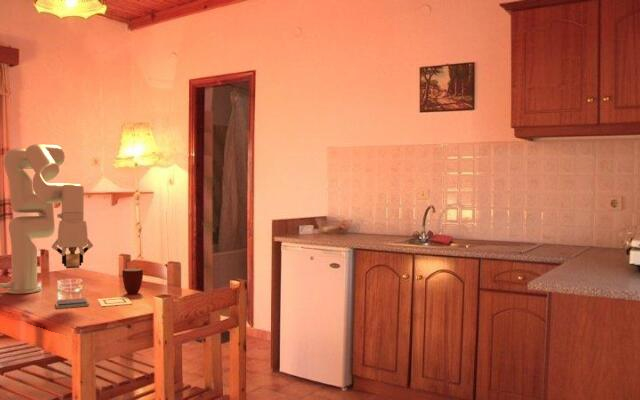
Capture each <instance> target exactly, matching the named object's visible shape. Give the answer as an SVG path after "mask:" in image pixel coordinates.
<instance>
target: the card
mask: <svg viewBox="0 0 640 400" xmlns="http://www.w3.org/2000/svg"><path fill="white" fill-rule="evenodd" d="M97 302H98V304H99V306H101V307H103V306H106V307H117V306H127V305H133V302H132V301H131V300H130V299H129V298H128V297H127V296H120V297H109V298H107V297H106V298H97ZM116 305H117V306H116ZM103 308H104V307H103Z"/></svg>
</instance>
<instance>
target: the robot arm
mask: <svg viewBox="0 0 640 400" xmlns="http://www.w3.org/2000/svg"><path fill="white" fill-rule="evenodd" d="M3 158H4V159H3V166H4V170H5V173H6V176H7V177H8V183H9V193H10V205H11V206H10V207H11V210H12V211H13V212H14V213H16V214H17V213H18V214H37V215H34V216H33V215H26V216H16V217H13V218H12V219H11V220H10V221H9V223H8V233H9V237H10V238H9V239H10V245H11V246H10V247H11V248H10V249H11V250H10V251H11V254H10V255H11V280H10V281H8V282H5V283H3V282H2V283H1V282H0V289H6V288H7V293H8V294H14V295H20V294H21V295H22V294H32V293H37V292H41V291H42V287H41V286H40V285H39V286H38V251H37V250H38V249H37V246H36V245H35V244H34V243H33V241H32V239H44V238H49V237H52V236H53V234H54V232H55V213H54V212H55V211H54V204H61V213H58V214H57V215H56V216H57V218H58V219H59V218H60V220H59V223H58V229H57V238H56V240H55V241H54V243H52V245H51V248H52V249H53V250H54V251H57V253H59V254H60V255H61V265H63V266H64V267H66V253H67V249H68V248H75V247H77V248H78V250H79V251H78V253H79V267H80V266H82V264H83V263H84V255H85V254H86V253H87V252H88V251H89V250H90V249H91V248H93V246H94V245H93V243H92V242H91V241H90V239H89V238H88V226H87V221H86V220H85V219H84V214H85V213H84V211H85V210H84V208H85V207H84V206H85V205H84V201H85V200H84V196H85V194H84V186H83V185H82V184H79V183H69V182H68V183H65V182H64V183H63V182H51V183H50V182H49V181H51V180H53V179H55V178H56V177H57V176H58V175H59V173H60V166H61V165H62V164H64V161H65V158H66V157H65V152H64V150H63V149H62V148H61V147H60V146H58V145H55V144H42V143H41V144H40V143H38V144H37V143H36V144H32V145H29V146H28V147H26V148H24V147H23V148H21V147H20V148H18V147H17V148H11V149H8V150H7V151H6V152H5V154H4V157H3ZM24 169H25V170H24ZM26 170H33V171H34V172H35V173H34V175H33V178H31V176H30V175H29V174H28V172H27V171H26Z"/></svg>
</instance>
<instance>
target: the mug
mask: <svg viewBox="0 0 640 400" xmlns="http://www.w3.org/2000/svg"><path fill="white" fill-rule="evenodd" d="M121 275H122V281H123V287H124V289H125V291H126V293H127V294H128V295H136V294H138V293H139V291H140V290H141V287H142V281H143V277H144V271H143V268H139V267H138V268H137V267H134V268H132V267H131V268H130V267H129V268H124V269H122V274H121Z"/></svg>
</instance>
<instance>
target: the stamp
mask: <svg viewBox="0 0 640 400" xmlns="http://www.w3.org/2000/svg"><path fill="white" fill-rule="evenodd" d="M67 249H68V251H69V252H65V254H66V266H65V268H66V269H79V268H80V265H79V253H80V252H76V251H77V249H78V247H75V248H67Z"/></svg>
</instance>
